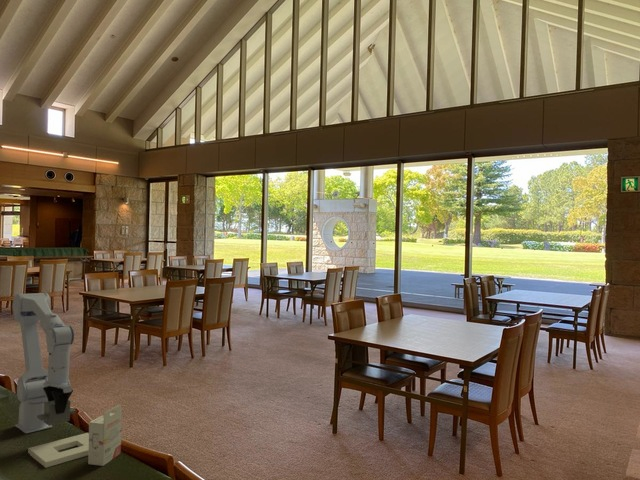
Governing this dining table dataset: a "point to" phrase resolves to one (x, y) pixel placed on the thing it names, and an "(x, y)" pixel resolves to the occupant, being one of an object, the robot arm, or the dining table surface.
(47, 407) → the servo block
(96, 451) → the ink cartridge box
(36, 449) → the pocket plate
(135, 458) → the dining table surface
